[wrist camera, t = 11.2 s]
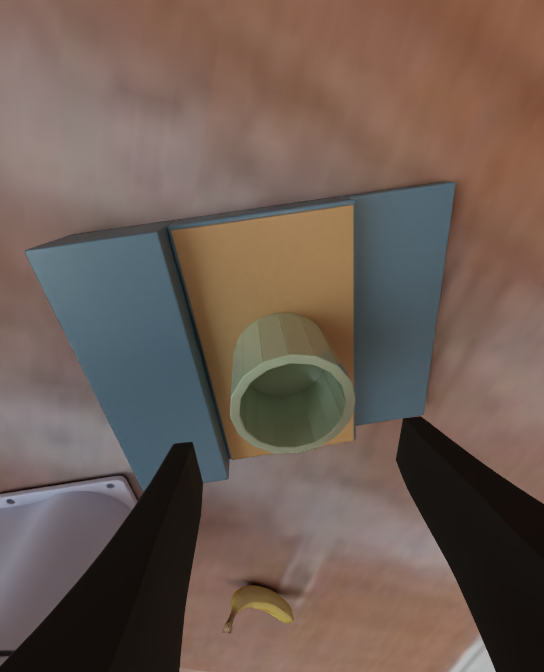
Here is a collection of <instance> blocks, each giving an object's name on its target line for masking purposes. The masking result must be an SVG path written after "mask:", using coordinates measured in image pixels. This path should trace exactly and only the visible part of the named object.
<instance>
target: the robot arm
mask: <svg viewBox="0 0 544 672" xmlns="http://www.w3.org/2000/svg"><path fill="white" fill-rule="evenodd" d="M396 462H397V464H398V467H399V469H400V472H401V474H402V477H403V479H404V482H405V484H406V486H407V489H408V491H409V493H410V495H411V496H412V498H413V500H414V502H415V504H416V506H417V508H418V509H419V511H420V513H421V515H422V517H423V519H424V520H425V522H426V524H427V526H428V528H429V529H430V531H431V533H432V535H433V537H434V538H435V540H436V542H437V544H438V546H439V548H440V549H441V551H442V553H443V555H444V557H445V558H446V560H447V562H448V564H449V566H450V568H451V570H452V572H453V574H454V576H455V578H456V580H457V582H458V585H459V587H460V589H461V591H462V594H463V596H464V598H465V600H466V603H467V605H468V607H469V609H470V611H471V614H472V616H473V618H474V621H475V623H476V625H477V628H478V630H479V632H480V635H481V637H482V639H483V642H484V644H485V646H486V649H487V651H488V653H489V656H490V658H491V661H492V663H493V666H494V668H495V671H496V672H544V504H543V503H541V502H540V501H538V500H536V499H535V498H533V497H532V496H530V495H529V494H527V493H525V492H524V491H522V490H521V489H519V488H518V487H516V486H515V485H513V484H512V483H511V482H509V481H508V480H506V479H505V478H503V477H502V476H500V475H499V474H497V473H496V472H494V471H493V470H492V469H490V468H489V467H487V466H486V465H485V464H483V463H482V462H480V461H479V460H478V459H476V458H475V457H474V456H472V455H471V454H469V453H468V452H467V451H465V450H464V449H463V448H461V447H460V446H459V445H458V444H456V443H455V442H454V441H452V440H451V439H450V438H448V437H447V436H446V435H444V434H443V433H442V432H440V431H439V430H438V429H437V428H435V427H434V426H433V425H431V424H430V423H429V422H427V421H426V420H425V419H423V418H422V417H421V416H420V417H411V418H403V422H402V428H401V434H400V439H399V445H398V451H397V457H396ZM202 491H203V481H202V477H201V473H200V469H199V465H198V461H197V457H196V453H195V449H194V445H193V442H184V443H175V444H173V445H172V447H171V448H170V450H169V452H168V454H167V455H166V457H165V459H164V460H163V462H162V464H161V465H160V467H159V469H158V470H157V472H156V474H155V475H154V477H153V479H152V480H151V482H150V483H149V485H148V486H147V488H146V489H145V491H144V492H143V494H142V496H141V497H140V499H139V500H138V501H137V499H136V497H135V495H134V493H133V492H132V490H131V488H130V486H129V484H128V482H127V480H126V479H125V478H124V477H123V476H113V477H106V478H100V479H94V480H87V481H81V482H74V483H68V484H62V485H55V486H49V487H42V488H36V489H30V490H23V491H17V492H10V493H4V494H0V672H179V668H180V656H181V645H182V635H183V624H184V614H185V606H186V599H187V592H188V587H189V581H190V575H191V569H192V564H193V558H194V552H195V547H196V541H197V535H198V529H199V523H200V517H201V506H202Z"/></svg>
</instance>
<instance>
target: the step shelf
mask: <svg viewBox="0 0 544 672" xmlns="http://www.w3.org/2000/svg"><path fill="white" fill-rule="evenodd" d="M455 186H456V182H436V183H429V184H422V185H415V186H408V187H401V188H394V189H387V190H380V191H373V192H366V193H359V194H352V195H346V196H342V197H341V196H339V197H332V198H325V199H318V200H311V201H304V202H297V203H290V204H283V205H276V206H269V207H262V208H255V209H248V210H241V211H234V212H227V213H220V214H213V215H206V216H199V217H192V218H185V219H178V220H171V221H164V222H157V223H150V224H143V225H136V226H129V227H122V228H115V229H108V230H101V231H94V232H87V233H80V234H73V235H69V236H66V237H63V238H60V239H57V240H54V241H51V242H48V243H45V244H42V245H39V246H36V247H33V248H30V249H27V250H25V254H26V256H27V258H28V260H29V262H30V264H31V266H32V268H33V270H34V272H35V274H36V276H37V278H38V280H39V282H40V284H41V286H42V288H43V290H44V292H45V294H46V296H47V298H48V300H49V302H50V304H51V306H52V308H53V310H54V312H55V314H56V316H57V319H58V321H59V323H60V325H61V327H62V329H63V331H64V333H65V335H66V337H67V339H68V341H69V343H70V345H71V347H72V349H73V351H74V353H75V355H76V357H77V359H78V361H79V363H80V365H81V367H82V369H83V371H84V373H85V375H86V377H87V379H88V381H89V383H90V385H91V387H92V389H93V391H94V393H95V395H96V397H97V399H98V401H99V403H100V405H101V407H102V409H103V411H104V413H105V415H106V417H107V419H108V421H109V423H110V425H111V427H112V429H113V431H114V434H115V436H116V438H117V440H118V442H119V444H120V446H121V448H122V450H123V452H124V454H125V456H126V458H127V460H128V462H129V464H130V466H131V468H132V470H133V472H134V474H135V476H136V478H137V480H138V482H139V484H140V486H141V488H142V490H143V492H144V491H145V489H146V488H147V486H148V485H149V483H150V482H151V480H152V479H153V477H154V475H155V474H156V472H157V470H158V469H159V467H160V465H161V464H162V462H163V460H164V459H165V457H166V455H167V454H168V452H169V450H170V448H171V447H172V445H173V444H175V443H184V442H193V445H194V449H195V453H196V457H197V461H198V465H199V469H200V473H201V477H202V481H203V483H208V482H214V481H221V480H227V479H228V478H229V458H230V459H232V460H235V459H242V458H248V457H254V456H261V455H267V454H274V453H272V452H268V451H265V450H262V449H259V448H256V447H254V446H252V445H251V444H250V443H249V442H247V441H246V440H245V439H244V438H242V437H241V436H240V435H239V434H238V433H237V431H236V429H235V426H234V424H233V422H232V420H231V418H230V401H231V384H232V366H233V352H234V348H235V344H236V342H237V340H238V338H239V336H240V335H241V333H242V332H243V331H244V330H245V329H246V328H247V327H248V326H249V325H250V324H252V323H253V322H255V321H256V320H258V319H260V318H262V317H265V316H267V315H271V314H276V313H294V314H298V315H302V316H304V317H307V318H309V319H311V320H312V321H314V322H315V323H316V324H318V325H319V326H320V327H321V328H322V330H323V331H324V333H325V334H326V336H327V337H328V339H329V340H330V342H331V344H332V345H333V347H334V349H335V351H336V353H337V355H338V357H339V359H340V360H341V362H342V364H343V366H344V368H345V370H346V372H347V374H348V375H349V377H350V379H351V381H352V384H353V389H354V394H355V399H356V402H355V405H354V409H353V412H352V416H351V419H350V421H349V422H348V423H347V424H346V426H345V427H344V428H343V429H342V431H341V432H340V433H339V434H338V435H337V436H336V437H335V438H333V439H331V440H330V441H328V442H327V443H325V444H323V445H322V446H325V445H331V444H337V443H344V442H350V441H354V440H355V426H356V425H362V424H369V423H375V422H382V421H388V420H394V419H401V418H407V417H414V416H420V415H424V409H425V402H426V395H427V388H428V380H429V373H430V366H431V359H432V351H433V344H434V337H435V330H436V323H437V315H438V308H439V301H440V294H441V287H442V279H443V272H444V265H445V258H446V251H447V243H448V236H449V229H450V222H451V214H452V207H453V200H454V193H455Z"/></svg>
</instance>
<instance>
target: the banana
mask: <svg viewBox="0 0 544 672" xmlns="http://www.w3.org/2000/svg"><path fill="white" fill-rule="evenodd" d="M231 606H232V610H231V614H230V616H229V619H228V621H227V622H226V624H225V625H224V626H225V627H224V629H223V632H227V633H231V630H232V623H233V620H234V617H235V615H236V614H237V613H238V612H240V611H241V610H242V609H244V608H247V607H251V608H256V609H261V610H263V611H266V612H268V613H270V614H271V615H273V616H274V617H276V618H277V619H278V620H280V621H281V622H284V623H291V622H293V619H294V618H293V614H292V610H291V608H290V606H289V604H288V603H287V602H286V601H285V600H284V599H283V598H282V597H281V596H280V595H278V594H277V593H275V592H273V591H272V590H270V589H267V588H264V587H260V586H254V585H251V586H244V587H242V588H240V589H239V590H237V591H236V592H235V593H234V595H233V597H232V600H231Z"/></svg>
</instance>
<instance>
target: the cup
mask: <svg viewBox="0 0 544 672" xmlns="http://www.w3.org/2000/svg"><path fill="white" fill-rule="evenodd" d="M355 402H356V399H355V394H354V389H353V384H352V381H351V379H350V377H349V375H348V374H347V372H346V370H345V368H344V366H343V364H342V362H341V360H340V359H339V357H338V355H337V353H336V351H335V349H334V347H333V345H332V344H331V342H330V340H329V339H328V337H327V336H326V334H325V333H324V331H323V330H322V328H321V327H320V326H319V325H318V324H316V323H315V322H314V321H312V320H311V319H309V318H307V317H304V316H302V315H298V314H294V313H276V314H271V315H267V316H265V317H262V318H260V319H258V320H256V321H255V322H253V323H252V324H250V325H249V326H248V327H247V328H246V329H245V330H244V331H243V332H242V333H241V335H240V336H239V338H238V340H237V342H236V344H235V348H234V352H233V366H232V384H231V401H230V418H231V420H232V422H233V424H234V426H235V429H236V431H237V433H238V434H239V435H240V436H241V437H242V438H244V439H245V440H246V441H247V442H249V443H250V444H251V445H252V446H254V447H256V448H259V449H262V450H265V451H268V452H272V453H286V454H296V453H301V452H304V451H308V450H312V449H315V448H318V447H320V446H322V445H323V444H325V443H327V442H328V441H330V440H331V439H333V438H335V437H336V436H337V435H338V434H339V433H340V432H341V431H342V429H343V428H344V427H345V426H346V424H347V423H348V422H349V421H350V419H351V416H352V412H353V409H354V405H355Z"/></svg>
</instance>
